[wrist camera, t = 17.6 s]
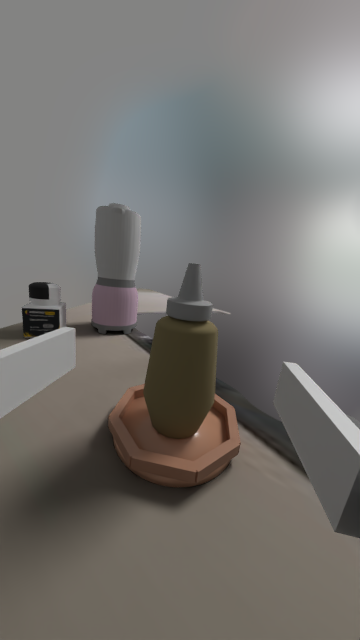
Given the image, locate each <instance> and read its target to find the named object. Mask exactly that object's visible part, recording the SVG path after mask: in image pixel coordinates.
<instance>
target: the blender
mask: <svg viewBox="0 0 360 640" xmlns="http://www.w3.org/2000/svg"><path fill="white" fill-rule="evenodd" d="M140 238H141V217H140V215H139V214H138V213H136V212H133V211H131V210H130V208H129V207H127V206H125V205H121V204H115V203H112V204H109V206H100V207H98V208H97V210H96V224H95V257H96V264H97V271H98V280H97V283H96V285H95V287H94V289H93V293H92V326H94V327H96V328H98V332H99V333H102V334H106V332H107V330H115V331H118V330H123V333H124V334H129V333H131V329H132V328H135V327H136V323H137V322H136V319H137V306H138V293H137V290H136V287H135V283H134V279H135V274H136V270H137V264H138V260H139V253H140Z"/></svg>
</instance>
